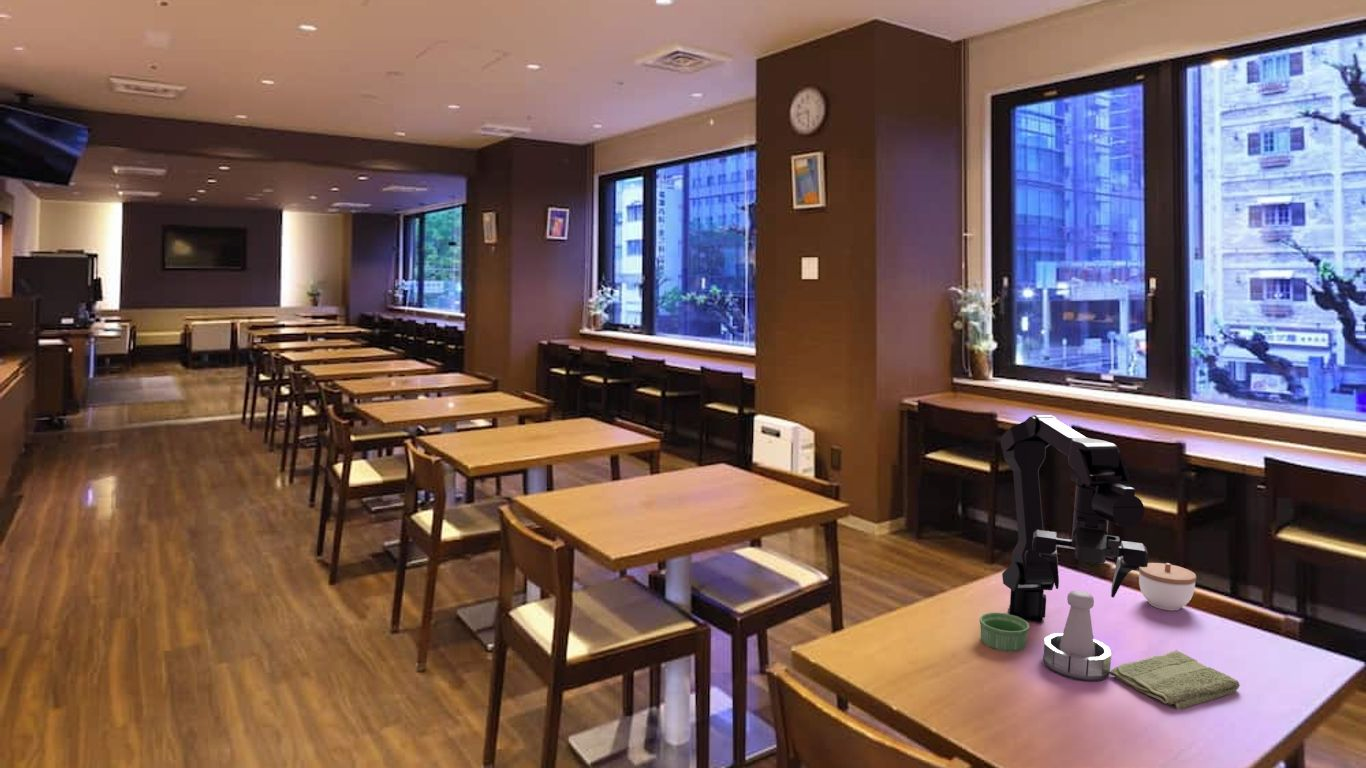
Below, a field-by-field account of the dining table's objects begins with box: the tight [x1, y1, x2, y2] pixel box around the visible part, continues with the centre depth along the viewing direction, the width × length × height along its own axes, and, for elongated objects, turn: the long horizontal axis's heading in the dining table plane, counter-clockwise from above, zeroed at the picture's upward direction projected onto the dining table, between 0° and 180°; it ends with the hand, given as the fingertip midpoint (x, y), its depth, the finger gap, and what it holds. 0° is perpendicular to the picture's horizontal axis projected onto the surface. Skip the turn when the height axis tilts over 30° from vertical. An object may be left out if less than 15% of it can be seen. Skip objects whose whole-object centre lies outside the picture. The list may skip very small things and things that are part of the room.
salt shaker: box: [1060, 590, 1095, 657], centre depth 147 cm, size 6×6×13 cm
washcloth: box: [1109, 650, 1241, 710], centre depth 142 cm, size 13×18×3 cm
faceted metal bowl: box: [1042, 632, 1112, 683], centre depth 148 cm, size 11×11×4 cm
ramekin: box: [979, 612, 1030, 653], centre depth 158 cm, size 9×9×4 cm
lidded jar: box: [1138, 562, 1197, 612], centre depth 177 cm, size 11×11×9 cm
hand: (1084, 592), depth 150 cm, fingers open, 9 cm apart
